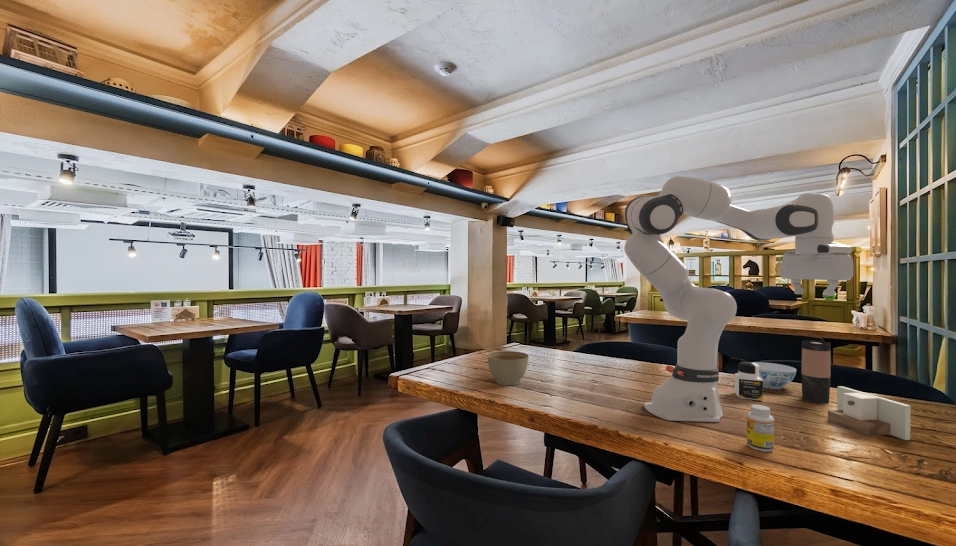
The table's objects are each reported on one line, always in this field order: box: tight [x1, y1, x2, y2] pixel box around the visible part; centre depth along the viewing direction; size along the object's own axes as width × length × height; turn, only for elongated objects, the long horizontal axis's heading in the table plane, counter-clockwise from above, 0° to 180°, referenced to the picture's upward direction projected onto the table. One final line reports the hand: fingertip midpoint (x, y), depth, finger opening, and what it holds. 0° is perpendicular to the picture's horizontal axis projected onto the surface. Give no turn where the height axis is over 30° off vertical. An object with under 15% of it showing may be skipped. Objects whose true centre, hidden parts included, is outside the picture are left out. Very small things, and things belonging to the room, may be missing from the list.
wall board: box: [836, 385, 912, 441], centre depth 116 cm, size 2×18×9 cm, turn 7°
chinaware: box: [753, 361, 797, 390], centre depth 155 cm, size 15×15×8 cm
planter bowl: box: [486, 350, 530, 387], centre depth 159 cm, size 16×16×11 cm
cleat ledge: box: [827, 409, 891, 437], centre depth 115 cm, size 7×11×3 cm, turn 7°
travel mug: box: [801, 339, 831, 404], centre depth 139 cm, size 8×8×20 cm
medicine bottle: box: [734, 361, 764, 401], centre depth 143 cm, size 7×7×12 cm
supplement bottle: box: [746, 404, 775, 452], centre depth 102 cm, size 6×6×10 cm
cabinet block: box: [843, 393, 877, 420], centre depth 115 cm, size 6×5×6 cm
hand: (813, 295), depth 121 cm, fingers open, 8 cm apart
